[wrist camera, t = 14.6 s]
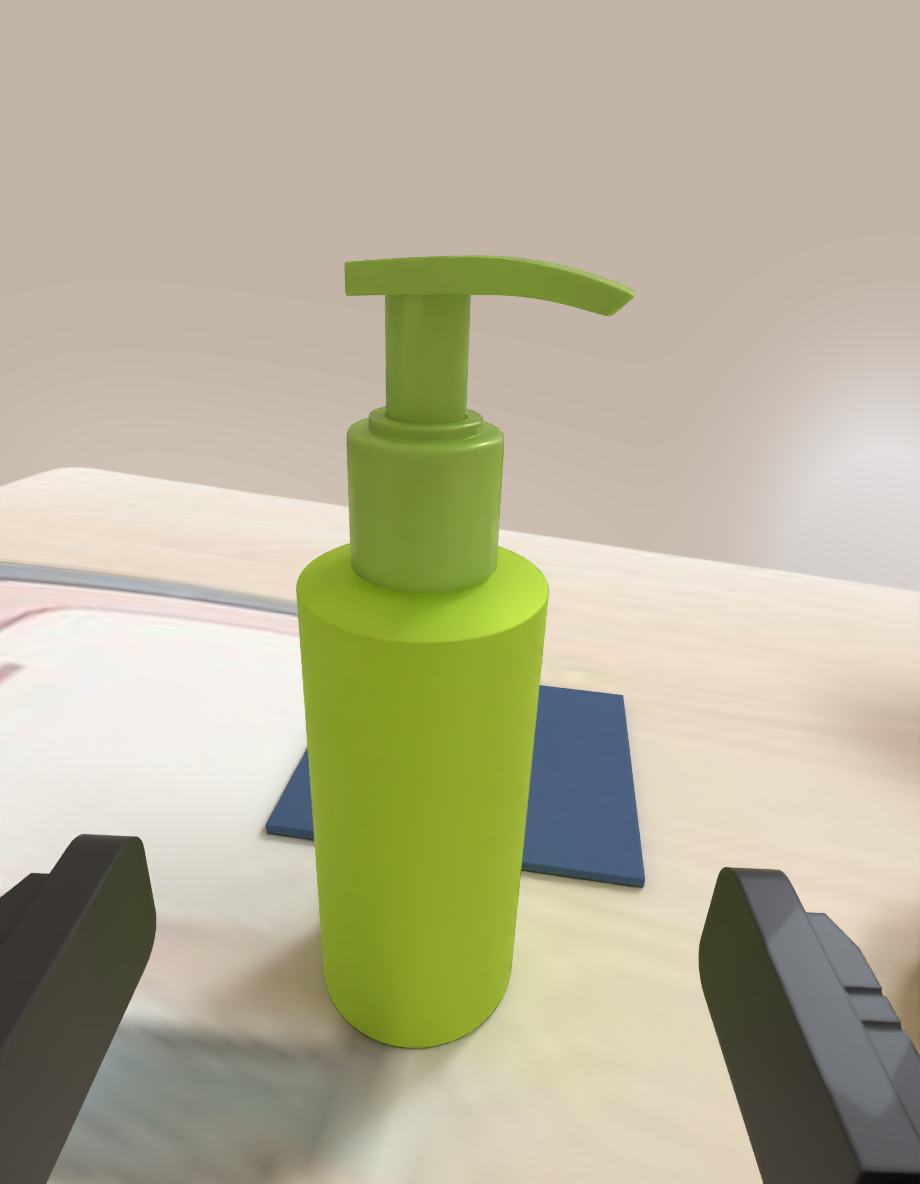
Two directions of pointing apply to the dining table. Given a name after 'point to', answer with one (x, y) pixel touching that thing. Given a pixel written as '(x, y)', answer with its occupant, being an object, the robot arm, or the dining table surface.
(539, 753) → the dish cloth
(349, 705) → the soap dispenser
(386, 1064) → the dining table surface
